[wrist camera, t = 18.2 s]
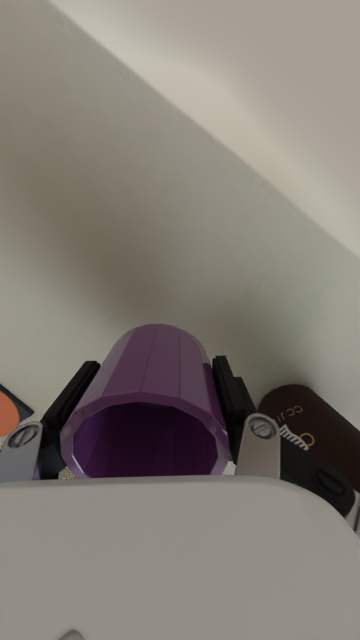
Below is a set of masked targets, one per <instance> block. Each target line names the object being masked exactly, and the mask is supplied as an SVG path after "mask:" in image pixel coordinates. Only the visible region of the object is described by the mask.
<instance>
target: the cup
mask: <svg viewBox="0 0 360 640" xmlns="http://www.w3.org/2000/svg"><path fill="white" fill-rule="evenodd" d="M60 455H61V457H62V459H63V460H64V462H65V463H66V465H67V466H68V468H69V469H70V471H71V472H72V474H73V475H74V476H75V477H77V478H78V479H84V478H115V477H148V476H188V475H222V473H223V471H224V469H225V467H226V465H227V463H228V461H229V459H230V447H229V438H228V432H227V428H226V424H225V420H224V416H223V412H222V408H221V404H220V400H219V396H218V392H217V388H216V384H215V380H214V376H213V372H212V368H211V364H210V360H209V358H208V356H207V353H206V351H205V349H204V347H203V346H202V345H201V343H200V342H199V341H198V340H197V339H196V338H195V337H194V336H192V335H191V334H190V333H188V332H186V331H184V330H183V329H180V328H177V327H174V326H171V325H165V324H149V325H144V326H140V327H137V328H134V329H132V330H130V331H128V332H127V333H125V334H124V335H123V336H122V337H121V338H120V339H118V341H117V342H116V343H115V345H114V346H113V348H112V349H111V351H110V352H109V354H108V355H107V357H106V359H105V360H104V362H103V363H102V365H101V367H100V368H99V370H98V371H97V373H96V375H95V376H94V378H93V379H92V381H91V383H90V384H89V386H88V388H87V389H86V391H85V392H84V394H83V396H82V397H81V399H80V400H79V402H78V404H77V405H76V407H75V408H74V410H73V412H72V413H71V415H70V416H69V418H68V420H67V421H66V423H65V424H64V426H63V428H62V429H61V431H60Z"/></svg>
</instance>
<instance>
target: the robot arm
mask: <svg viewBox="0 0 360 640" xmlns="http://www.w3.org/2000/svg"><path fill="white" fill-rule="evenodd" d="M100 367H101V366H100V364H99V363H97V361H86V362H85V363H84V364H83V365H82V367H81V368H80V369H79V370H78V372H77V373H76V374H75V376H74V377H73V378H72V379H71V381H70V382H69V383H68V385H67V386H66V387H65V388H64V390H63V391H62V392H61V394H60V395H59V396H58V398H57V399H56V400H55V401H54V403H53V404H52V405H51V407H50V408H49V409H48V410H47V412H46V413H45V414H44V416H43V418H42V419H41V421H40V422H38V421H32V422H28V423H26V424H24V425H21V426H20V427H18V428H17V429H15V430H14V431H13V432H12V433H10V434H9V436H8V437H7V438H6V440H5V441H4V443H3V446H2V449H1V450H0V640H360V493H358V492H357V491H355V490H354V489H353V487H352V485H351V484H350V483H349V481H348V480H347V478H346V477H345V476H344V475H343V474H342V473H341V472H339V471H338V470H337V469H335V468H334V467H332V466H331V465H329V464H327V463H326V462H324V461H322V460H321V459H319V458H318V457H316V456H314V455H313V454H311V453H309V452H308V451H306V450H304V449H303V448H301V447H300V446H298V445H296V444H295V443H293V442H291V441H290V440H288V439H286V438H285V437H283V436H281V435H280V429H279V427H278V425H277V423H276V422H275V421H274V420H273V419H271V418H270V417H268V416H266V415H264V414H259V413H257V411H256V408H255V406H254V404H253V402H252V399H251V397H250V395H249V393H248V391H247V388H246V386H245V384H244V382H243V379H242V378H241V377H234V376H233V374H232V371H231V368H230V366H229V363H228V361H227V358H226V356H225V355H223V356H216V358H213V361H212V372H213V376H214V380H215V384H216V388H217V392H218V396H219V400H220V404H221V408H222V412H223V416H224V420H225V424H226V428H227V432H228V438H229V447H230V459H229V461H233V463H234V464H235V465H236V470H235V475H188V476H148V477H115V478H84V479H62V477H63V469H65V467H66V466H67V465H66V463H65V462H64V460H63V459H62V457H61V455H60V431H61V429H62V428H63V426H64V424H65V423H66V421H67V420H68V418H69V416H70V415H71V413H72V412H73V410H74V408H75V407H76V405H77V404H78V402H79V400H80V399H81V397H82V396H83V394H84V392H85V391H86V389H87V388H88V386H89V384H90V383H91V381H92V379H93V378H94V376H95V375H96V373H97V371H98V370H99V368H100Z"/></svg>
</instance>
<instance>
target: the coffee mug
mask: <svg viewBox="0 0 360 640" xmlns="http://www.w3.org/2000/svg"><path fill="white" fill-rule="evenodd" d="M258 413H259V414H264V415H266V416H268V417H270V418H271V419H273V420H274V421H275V422H276V423H277V425H278V427H279V429H280V435H281V436H283V437H285V438H286V439H288V440H290V441H291V442H293V443H295V444H296V445H298V446H300V447H301V448H303V449H304V450H306V451H308V452H309V453H311V454H313V455H314V456H316V457H318V458H319V459H321V460H322V461H324V462H326V463H327V464H329V465H331V466H332V467H334V468H335V469H337V470H338V471H339V472H341V473H342V474H343V475H344V476H345V477H346V478H347V480H348V481H349V483H350V484H351V485H352V487H353V489H354V490H355V491H357V492H358V493H360V431H359V430H358V429H357V428H355V427H354V426H353V425H352V424H351V423H350V422H348V421H347V420H346V419H345V418H344V417H343V416H341V415H340V414H339V413H338V412H337V411H336V410H335V409H333V408H332V407H331V406H330V405H329V404H328V403H326V402H325V401H324V400H323V399H322V398H321V397H320V396H318V395H317V394H316V393H315V392H314V391H313V390H311V389H310V388H308V387H306V386H303V385H285V386H282V387H279V388H276V389H274V390H272V391H271V392H270V393H268V394H267V395H266V396H265V397H264V398H263V399H262V401H261V402H260V404H259V407H258Z"/></svg>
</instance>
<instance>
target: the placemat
mask: <svg viewBox="0 0 360 640" xmlns="http://www.w3.org/2000/svg"><path fill="white" fill-rule="evenodd" d="M33 413H34V412H33V411H32V410H31V409H29V408H28V407H27V406H26V405H25V404H23V403H22V402H21V401H20V400H18V399H17V398H16V397H15V396H14V395H12V394H11V393H10V392H9V391H7V390H6V389H5V388H4V387H2V386H1V385H0V437H1V436H5V435H8V434H10V433H11V432H13V431H14V430H15V429H16V428H17V426H18V424H19V422H21V421H23V420H25V419H26V418H28V417H30V416H31V415H33Z"/></svg>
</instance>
